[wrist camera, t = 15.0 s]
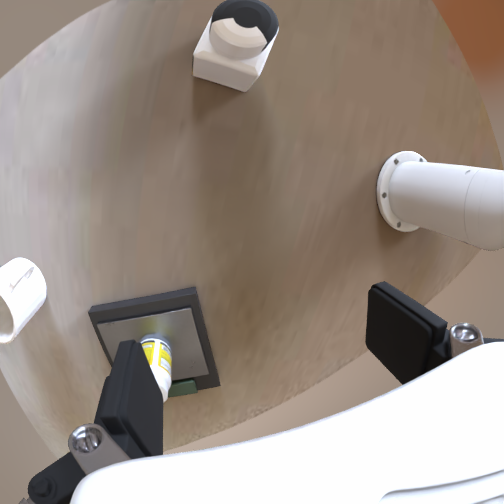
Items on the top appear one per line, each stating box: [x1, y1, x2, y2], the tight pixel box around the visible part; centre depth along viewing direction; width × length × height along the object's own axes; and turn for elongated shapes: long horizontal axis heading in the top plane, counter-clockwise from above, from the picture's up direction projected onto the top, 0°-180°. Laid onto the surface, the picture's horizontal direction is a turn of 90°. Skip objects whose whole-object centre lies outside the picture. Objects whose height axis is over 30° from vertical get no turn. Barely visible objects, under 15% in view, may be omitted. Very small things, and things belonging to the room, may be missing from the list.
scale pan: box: [97, 306, 209, 381], centre depth 36 cm, size 13×11×1 cm
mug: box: [0, 258, 46, 344], centre depth 27 cm, size 8×12×10 cm
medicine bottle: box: [192, 0, 279, 92], centre depth 24 cm, size 7×7×12 cm
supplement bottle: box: [141, 338, 172, 403], centre depth 32 cm, size 5×5×8 cm
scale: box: [88, 287, 220, 397], centre depth 37 cm, size 15×16×3 cm
